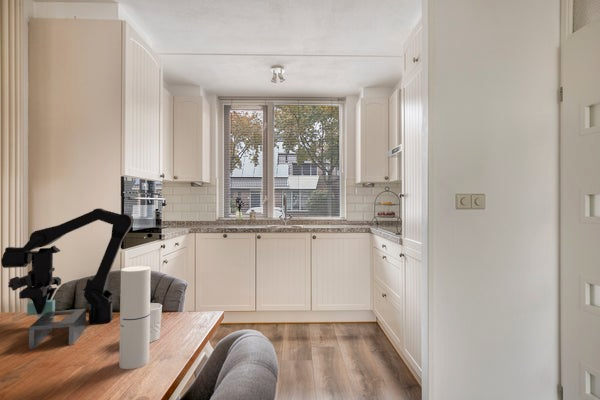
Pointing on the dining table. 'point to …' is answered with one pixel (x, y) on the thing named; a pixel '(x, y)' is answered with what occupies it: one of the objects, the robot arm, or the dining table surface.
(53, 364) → the dining table surface
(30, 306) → the peg
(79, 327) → the grey square frame stand
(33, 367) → the dining table surface
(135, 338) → the cylindrical container
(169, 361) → the dining table surface
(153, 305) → the white cup
